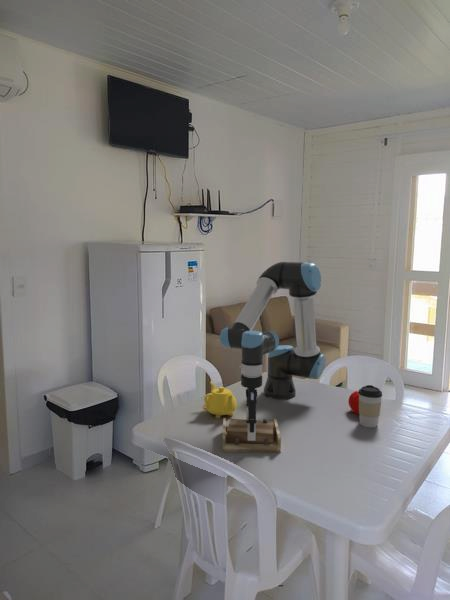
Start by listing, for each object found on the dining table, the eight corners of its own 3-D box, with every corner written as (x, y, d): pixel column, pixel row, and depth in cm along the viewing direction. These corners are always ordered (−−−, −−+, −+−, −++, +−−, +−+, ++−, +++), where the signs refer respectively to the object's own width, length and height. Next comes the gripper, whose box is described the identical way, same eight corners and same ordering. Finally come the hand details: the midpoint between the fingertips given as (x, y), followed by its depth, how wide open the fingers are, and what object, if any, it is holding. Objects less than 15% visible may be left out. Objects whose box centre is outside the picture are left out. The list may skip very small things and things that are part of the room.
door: (230, 431, 168) (230, 416, 168) (273, 434, 166) (273, 418, 166) (226, 444, 158) (226, 428, 157) (272, 447, 155) (272, 431, 155)
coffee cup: (382, 429, 174) (384, 392, 172) (357, 427, 176) (359, 390, 174) (378, 420, 183) (380, 385, 181) (355, 418, 185) (357, 383, 183)
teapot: (193, 408, 194) (193, 383, 192) (224, 403, 200) (224, 378, 199) (213, 425, 176) (213, 397, 174) (246, 419, 182) (246, 392, 181)
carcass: (223, 432, 170) (223, 418, 169) (275, 432, 170) (276, 419, 169) (222, 451, 154) (222, 436, 153) (280, 452, 154) (281, 437, 153)
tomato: (376, 419, 184) (377, 398, 183) (346, 414, 189) (347, 394, 188) (378, 410, 194) (379, 390, 193) (349, 406, 198) (350, 386, 197)
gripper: (240, 365, 171) (239, 418, 174) (241, 385, 147) (240, 447, 149) (260, 365, 171) (258, 418, 174) (264, 386, 146) (263, 447, 149)
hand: (250, 432), depth 162 cm, fingers open, 13 cm apart
